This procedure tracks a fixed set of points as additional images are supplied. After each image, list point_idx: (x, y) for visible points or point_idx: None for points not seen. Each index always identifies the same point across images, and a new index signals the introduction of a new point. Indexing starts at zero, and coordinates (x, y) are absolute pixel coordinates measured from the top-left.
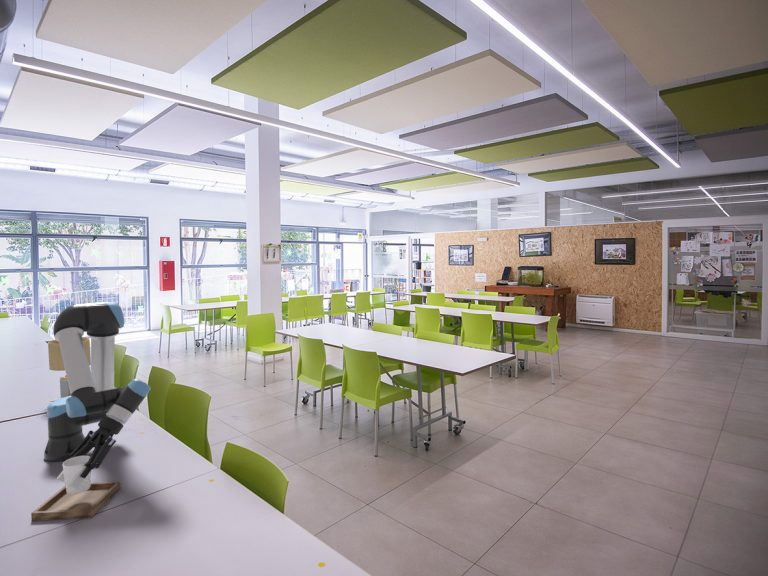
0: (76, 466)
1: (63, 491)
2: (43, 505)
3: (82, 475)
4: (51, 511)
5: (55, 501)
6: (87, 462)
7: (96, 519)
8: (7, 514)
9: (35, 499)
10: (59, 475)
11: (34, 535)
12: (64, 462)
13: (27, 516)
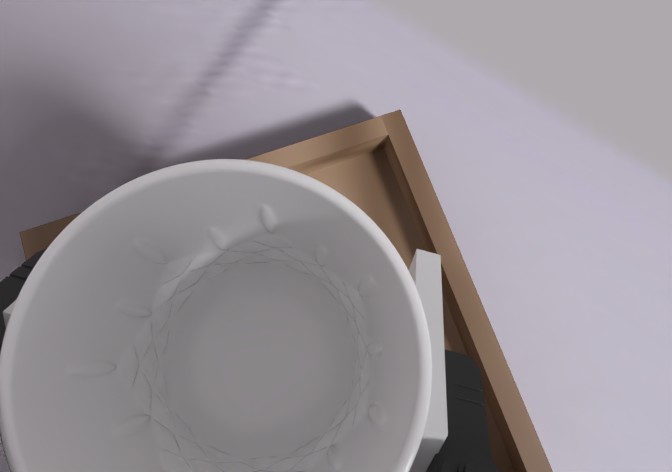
0: (79, 223)
1: (494, 406)
2: (416, 196)
3: (39, 252)
4: (290, 156)
5: (443, 309)
6: (4, 385)
7: (4, 240)
8: (603, 146)
9: (628, 316)
10: (431, 274)
11: (239, 40)
12: (390, 266)
13: (465, 159)
